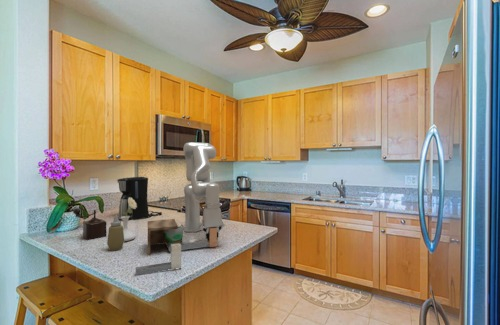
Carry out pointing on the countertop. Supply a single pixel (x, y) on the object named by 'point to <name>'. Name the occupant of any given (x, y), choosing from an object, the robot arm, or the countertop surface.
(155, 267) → the l-shaped tool
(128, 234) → the flower in vase
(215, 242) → the crook tool
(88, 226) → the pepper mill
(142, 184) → the coffee maker
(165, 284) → the countertop surface
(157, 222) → the walnut cubby
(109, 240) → the squeeze bottle
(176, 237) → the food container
